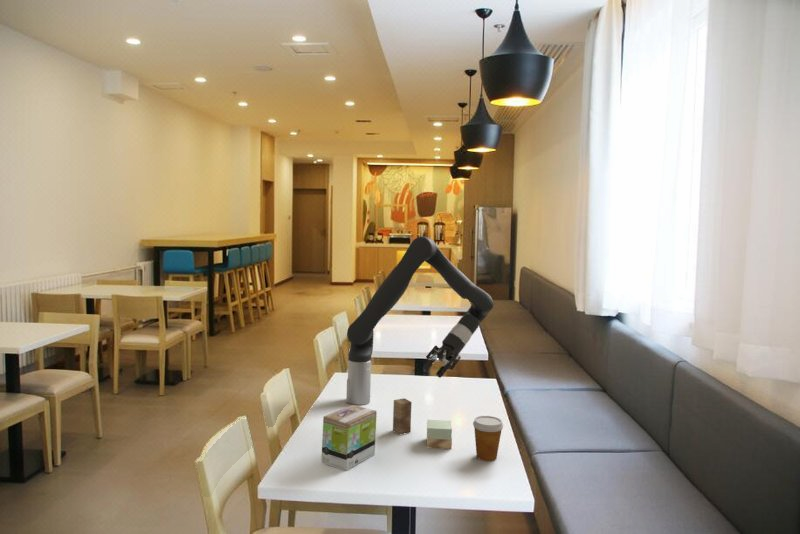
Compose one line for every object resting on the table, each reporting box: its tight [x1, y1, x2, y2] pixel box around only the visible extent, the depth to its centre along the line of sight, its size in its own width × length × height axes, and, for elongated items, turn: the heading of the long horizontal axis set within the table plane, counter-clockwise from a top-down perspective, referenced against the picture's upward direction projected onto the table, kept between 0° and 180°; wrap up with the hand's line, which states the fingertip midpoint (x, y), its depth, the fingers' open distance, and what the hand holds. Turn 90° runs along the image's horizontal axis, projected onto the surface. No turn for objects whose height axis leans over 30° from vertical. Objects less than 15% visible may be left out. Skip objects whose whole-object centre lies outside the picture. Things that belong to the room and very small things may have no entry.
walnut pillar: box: [392, 398, 412, 435], centre depth 202 cm, size 4×4×11 cm
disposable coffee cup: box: [472, 415, 504, 462], centre depth 183 cm, size 10×10×12 cm
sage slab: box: [426, 419, 453, 440], centre depth 192 cm, size 8×8×4 cm
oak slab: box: [426, 437, 453, 450], centre depth 193 cm, size 8×8×4 cm
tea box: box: [320, 404, 378, 472], centre depth 178 cm, size 15×10×15 cm, turn 148°
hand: (431, 373), depth 207 cm, fingers open, 8 cm apart
